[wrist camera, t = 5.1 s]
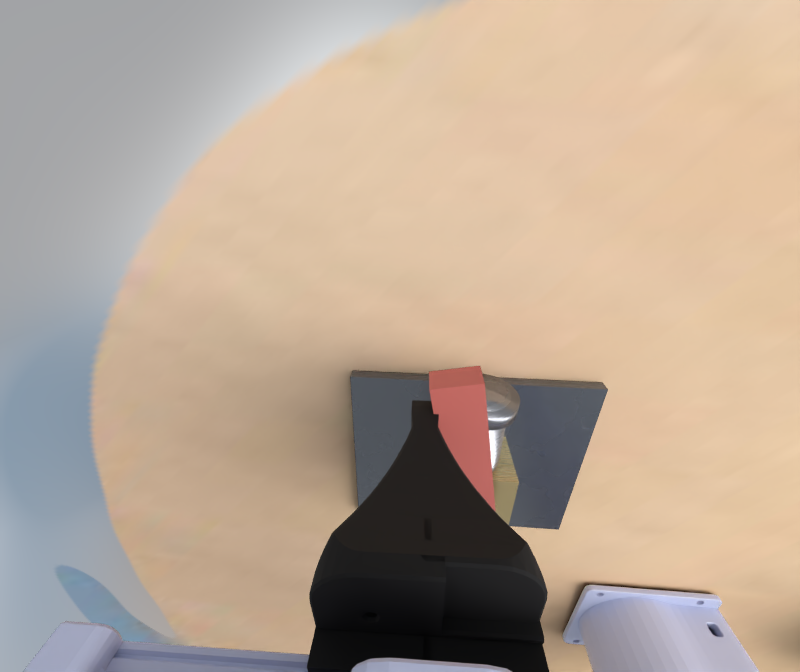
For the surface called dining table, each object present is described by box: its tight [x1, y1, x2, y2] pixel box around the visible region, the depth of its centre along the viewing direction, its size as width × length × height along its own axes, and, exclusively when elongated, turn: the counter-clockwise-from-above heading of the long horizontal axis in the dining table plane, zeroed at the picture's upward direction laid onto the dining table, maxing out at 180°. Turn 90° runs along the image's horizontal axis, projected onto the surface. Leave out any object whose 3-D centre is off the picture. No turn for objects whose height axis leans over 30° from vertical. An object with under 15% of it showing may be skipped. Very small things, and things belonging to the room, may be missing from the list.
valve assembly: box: [350, 371, 608, 529], centre depth 18 cm, size 12×13×4 cm
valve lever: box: [429, 366, 496, 512], centre depth 14 cm, size 10×3×1 cm, turn 10°
